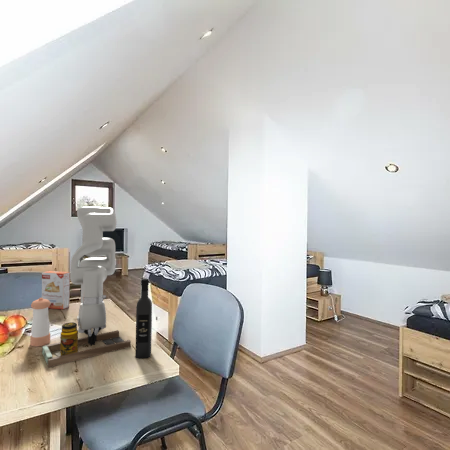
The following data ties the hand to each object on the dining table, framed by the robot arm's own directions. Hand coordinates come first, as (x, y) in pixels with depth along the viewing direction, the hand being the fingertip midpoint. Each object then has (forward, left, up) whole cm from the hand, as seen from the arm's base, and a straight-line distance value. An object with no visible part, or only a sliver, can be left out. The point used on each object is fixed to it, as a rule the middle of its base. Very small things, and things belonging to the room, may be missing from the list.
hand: (92, 344), depth 126 cm
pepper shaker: (-18, -16, -2) cm, 24 cm away
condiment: (0, -9, -2) cm, 9 cm away
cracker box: (-70, -1, -2) cm, 70 cm away
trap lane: (0, -2, -2) cm, 2 cm away
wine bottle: (+18, +14, -2) cm, 23 cm away
